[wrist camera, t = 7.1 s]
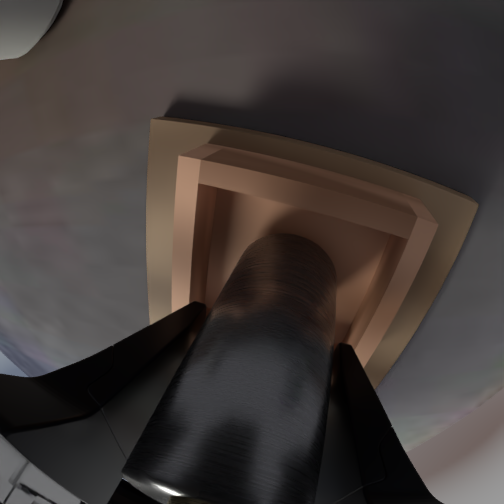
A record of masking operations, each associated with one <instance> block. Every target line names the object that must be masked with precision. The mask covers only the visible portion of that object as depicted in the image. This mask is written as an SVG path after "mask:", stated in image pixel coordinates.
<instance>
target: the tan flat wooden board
mask: <svg viewBox="0 0 504 504" xmlns="http://www.w3.org/2000/svg"><path fill="white" fill-rule="evenodd" d="M478 206H479V204H478V203H477V202H475V201H474V200H473V199H472V198H471V197H469V196H467V195H465V194H462V193H460V192H458V191H455V190H453V189H450V188H448V187H445V186H443V185H440V184H438V183H435V182H433V181H430V180H428V179H425V178H422V177H420V176H417V175H414V174H411V173H408V172H406V171H403V170H400V169H397V168H394V167H391V166H388V165H385V164H382V163H379V162H376V161H373V160H369V159H366V158H363V157H360V156H356V155H353V154H350V153H346V152H343V151H339V150H335V149H332V148H328V147H324V146H320V145H317V144H313V143H309V142H305V141H300V140H296V139H292V138H288V137H283V136H279V135H274V134H269V133H265V132H260V131H255V130H249V129H244V128H239V127H233V126H227V125H221V124H215V123H209V122H202V121H195V120H188V119H180V118H171V117H158V118H153V119H151V125H150V137H149V152H148V170H147V200H146V253H147V283H148V302H149V317H150V325H151V324H153V323H155V322H156V321H158V320H160V319H162V318H164V317H166V316H167V315H169V314H171V313H173V312H175V311H176V310H178V309H180V308H182V307H184V306H186V305H187V304H189V303H191V302H193V301H198V302H201V303H204V304H206V307H207V309H206V317H207V316H208V314H209V312H210V310H211V309H212V307H213V305H214V303H215V301H216V300H217V298H218V296H219V294H220V293H221V291H222V289H223V287H224V286H225V284H226V282H227V280H228V278H229V277H230V275H231V273H232V271H233V270H234V268H235V266H236V264H237V263H238V261H239V259H240V257H241V256H242V254H243V252H244V251H245V250H246V248H247V247H248V246H249V245H251V244H252V243H253V242H255V241H256V240H258V239H260V238H262V237H264V236H268V235H272V234H280V233H286V234H294V235H299V236H302V237H305V238H307V239H309V240H311V241H313V242H314V243H316V244H317V245H319V246H320V247H321V248H322V249H323V250H324V251H325V252H326V253H327V254H328V256H329V257H330V258H331V260H332V262H333V264H334V267H335V270H336V275H337V296H336V321H335V340H334V350H335V348H336V347H337V345H338V343H340V342H342V343H347V344H350V345H351V346H352V347H353V349H354V351H355V353H356V355H357V356H358V358H359V360H360V362H361V364H362V366H363V368H364V370H365V372H366V374H367V376H368V378H369V380H370V382H371V384H372V386H373V388H374V390H375V389H376V387H377V386H378V385H379V383H380V382H381V381H382V379H383V378H384V377H385V375H386V374H387V373H388V371H389V370H390V368H391V367H392V366H393V364H394V363H395V361H396V360H397V358H398V357H399V356H400V354H401V353H402V351H403V350H404V348H405V347H406V345H407V344H408V342H409V341H410V339H411V337H412V336H413V334H414V333H415V331H416V330H417V328H418V326H419V325H420V323H421V322H422V320H423V318H424V317H425V315H426V313H427V311H428V310H429V308H430V306H431V305H432V303H433V301H434V299H435V298H436V296H437V294H438V292H439V290H440V288H441V287H442V285H443V283H444V281H445V279H446V277H447V275H448V273H449V271H450V269H451V267H452V265H453V263H454V261H455V259H456V257H457V255H458V253H459V251H460V249H461V246H462V244H463V242H464V240H465V238H466V235H467V233H468V231H469V228H470V226H471V224H472V221H473V219H474V216H475V214H476V211H477V209H478Z"/></svg>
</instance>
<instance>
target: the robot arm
mask: <svg viewBox="0 0 504 504" xmlns="http://www.w3.org/2000/svg"><path fill="white" fill-rule="evenodd" d="M206 309H207V307H206V304H204V303H201V302H198V301H193V302H191V303H189V304H187V305H186V306H184V307H182V308H180V309H178V310H176V311H175V312H173V313H171V314H169V315H167V316H166V317H164V318H162V319H160V320H158V321H156V322H155V323H153V324H151V325H149V326H147V327H145V328H143V329H142V330H140V331H138V332H136V333H134V334H132V335H131V336H129V337H127V338H125V339H123V340H121V341H119V342H118V343H116V344H114V345H113V346H110V347H108V348H106V349H104V350H102V351H100V352H98V353H96V354H94V355H92V356H90V357H88V358H86V359H83V360H81V361H79V362H76V363H74V364H71V365H69V366H66V367H63V368H61V369H58V370H56V371H53V372H50V373H48V374H45V375H42V376H38V377H19V376H12V375H6V374H0V504H162V503H160V502H158V501H157V500H155V499H153V498H151V497H149V496H148V495H146V494H144V493H143V492H141V491H140V490H138V489H137V488H135V487H134V486H133V485H131V484H130V483H129V482H127V481H125V480H124V479H125V478H124V477H123V476H122V474H121V470H122V469H123V467H124V465H125V463H126V461H127V459H128V458H129V456H130V454H131V452H132V450H133V448H134V447H135V445H136V443H137V441H138V439H139V438H140V436H141V434H142V432H143V430H144V429H145V427H146V425H147V423H148V421H149V419H150V418H151V416H152V414H153V412H154V410H155V409H156V407H157V405H158V403H159V401H160V400H161V398H162V396H163V394H164V392H165V391H166V389H167V387H168V385H169V383H170V382H171V380H172V378H173V376H174V374H175V373H176V371H177V369H178V367H179V366H180V364H181V362H182V360H183V358H184V357H185V355H186V353H187V351H188V349H189V348H190V346H191V344H192V342H193V341H194V339H195V337H196V335H197V333H198V332H199V330H200V328H201V326H202V324H203V323H204V321H205V319H206ZM391 426H392V425H391V423H390V420H389V418H388V416H387V414H386V412H385V410H384V408H383V406H382V404H381V402H380V400H379V398H378V396H377V394H376V392H375V390H374V388H373V386H372V384H371V382H370V380H369V378H368V376H367V374H366V372H365V370H364V368H363V366H362V364H361V362H360V360H359V358H358V356H357V355H356V353H355V351H354V349H353V347H352V346H351V345H350V344H347V343H342V342H340V343H338V345H337V347H336V348H335V350H334V355H333V368H332V380H331V390H330V400H329V410H328V418H327V427H326V434H325V442H324V449H323V456H322V462H321V469H320V475H319V481H318V487H317V492H316V497H315V503H314V504H443V503H442V502H440V501H438V500H437V499H436V498H435V497H434V496H433V495H432V494H431V493H430V492H429V490H428V489H427V487H426V486H425V484H424V482H423V481H422V479H421V478H420V476H419V474H418V473H417V471H416V469H415V468H414V466H413V464H412V463H411V461H410V459H409V458H408V456H407V454H406V452H405V451H404V449H403V447H402V445H401V443H400V441H399V439H398V437H397V435H396V433H395V431H394V429H393V427H391ZM122 478H124V479H122Z"/></svg>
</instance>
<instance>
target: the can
mask: <svg viewBox="0 0 504 504" xmlns="http://www.w3.org/2000/svg"><path fill="white" fill-rule="evenodd" d="M62 3H63V0H0V60H3V59H12V58H18V57H20V56H22V55H24V54H26V53H27V52H28V51H29V50H30V49H31V48H32V47H33V46H34V45H35V44H36V43H37V42H38V41H39V40H40V38H41V37H42V36H43V35H44V34H45V33H46V32H47V31H48V29H49V28H50V26H51V25H52V24H53V22H54V20H55V18H56V16H57V14H58V12H59V11H60V9H61V6H62Z"/></svg>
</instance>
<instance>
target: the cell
mask: <svg viewBox="0 0 504 504" xmlns="http://www.w3.org/2000/svg"><path fill="white" fill-rule="evenodd" d="M336 296H337V275H336V270H335V267H334V264H333V262H332V260H331V258H330V257H329V256H328V254H327V253H326V252H325V251H324V250H323V249H322V248H321V247H320V246H319V245H317V244H316V243H314V242H313V241H311V240H309V239H307V238H305V237H302V236H299V235H294V234H286V233H280V234H272V235H268V236H264V237H262V238H260V239H258V240H256V241H255V242H253V243H252V244H251V245H249V246H248V247H247V248H246V250H245V251H244V252H243V254H242V256H241V257H240V259H239V261H238V263H237V264H236V266H235V268H234V270H233V271H232V273H231V275H230V277H229V278H228V280H227V282H226V284H225V286H224V287H223V289H222V291H221V293H220V294H219V296H218V298H217V300H216V301H215V303H214V305H213V307H212V309H211V310H210V312H209V314H208V316H207V317H206V319H205V321H204V323H203V324H202V326H201V328H200V330H199V332H198V333H197V335H196V337H195V339H194V341H193V342H192V344H191V346H190V348H189V349H188V351H187V353H186V355H185V357H184V358H183V360H182V362H181V364H180V366H179V367H178V369H177V371H176V373H175V374H174V376H173V378H172V380H171V382H170V383H169V385H168V387H167V389H166V391H165V392H164V394H163V396H162V398H161V400H160V401H159V403H158V405H157V407H156V409H155V410H154V412H153V414H152V416H151V418H150V419H149V421H148V423H147V425H146V427H145V429H144V430H143V432H142V434H141V436H140V438H139V439H138V441H137V443H136V445H135V447H134V448H133V450H132V452H131V454H130V456H129V458H128V459H127V461H126V463H125V465H124V467H123V469H122V470H121V474H122V476H123V477H124V478H125V479H126V480H127V481H128V482H129V483H130V484H131V485H133V486H134V487H135V488H137V489H138V490H140V491H141V492H143V493H144V494H146V495H148V496H149V497H151V498H153V499H155V500H157V501H158V502H160V503H162V504H314V503H315V497H316V492H317V487H318V481H319V475H320V469H321V462H322V456H323V449H324V442H325V434H326V427H327V418H328V410H329V400H330V390H331V380H332V368H333V355H334V340H335V321H336Z"/></svg>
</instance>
